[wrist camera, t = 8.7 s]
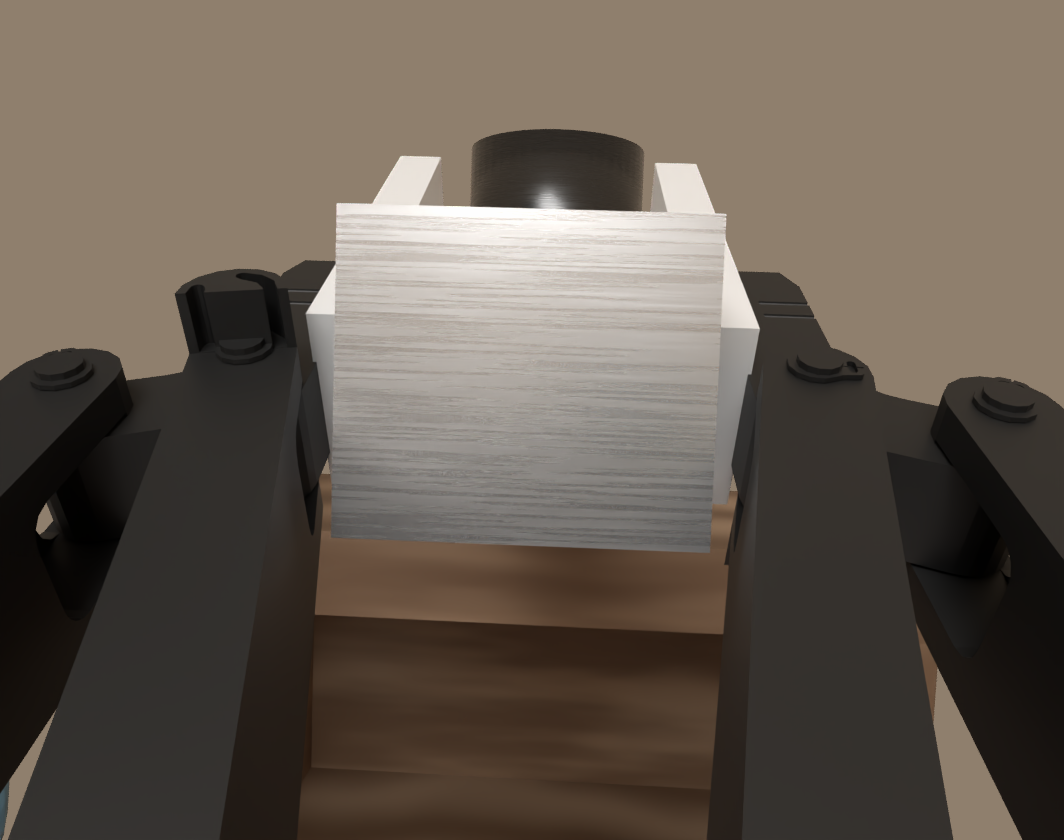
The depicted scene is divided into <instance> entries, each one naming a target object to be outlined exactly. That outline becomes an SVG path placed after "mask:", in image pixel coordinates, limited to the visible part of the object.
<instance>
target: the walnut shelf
mask: <svg viewBox="0 0 1064 840" xmlns="http://www.w3.org/2000/svg"><path fill="white" fill-rule="evenodd" d="M319 483H320V489H321V495H322V501H323V517H322V529H321V542H320V555H319V567H318V580H317V593H316V605H315V618H314V631H313V643H312V656H311V669H310V681H309V694H308V706H307V719H306V732H305V744H304V757H303V770H302V782H301V795H300V808H299V820H298V833H297V840H707V828H708V815H709V803H710V791H711V779H712V766H713V754H714V742H715V729H716V717H717V705H718V692H719V680H720V668H721V655H722V643H723V631H724V618H725V606H726V594H727V581H728V569H729V565H724V563H725V557H726V552H727V547H728V542H729V537H730V532H731V526H732V521H733V516H734V511H735V506H736V501H737V496H738V491H730V492H729V497H728V502H727V504H712V521H711V541H710V553H698V552H673V551H648V550H623V549H598V548H573V547H548V546H523V545H498V544H473V543H448V542H423V541H398V540H373V539H349V538H331V508H332V482H331V475H330V474H321V475H320V477H319ZM916 626H917V624H916ZM917 632H918V638H919V644H920V650H921V655H922V661H923V667H924V673H925V679H926V684H927V690H928V696H929V702H930V708H931V713H932V719H933V721H934V706H935V692H936V679H937V665H936V663H935V661H934V659H933V657H932V655H931V653H930V651H929V649H928V647H927V645H926V643H925V641H924V639H923V636H922V634H921V632H920V630H919V628H918V626H917Z"/></svg>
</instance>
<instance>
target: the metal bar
mask: <svg viewBox="0 0 1064 840" xmlns="http://www.w3.org/2000/svg"><path fill="white" fill-rule="evenodd" d="M643 166H644V151H643V149H642V148H641V147H640V146H638V145H637V144H635V143H633V142H631V141H628V140H626V139H623V138H619V137H615V136H611V135H607V134H601V133H595V132H587V131H578V130H577V131H576V130H561V129H540V130H522V131H513V132H506V133H501V134H496V135H492V136H489V137H486V138H483V139H481V140H479V141H478V142H476V143H475V144H474V145H473V148H472V167H471V205H470V207H459V206H457V207H456V206H424V205H388V204H352V203H351V204H350V203H337V218H336V275H335V333H334V391H333V450H332V508H331V538H349V539H373V540H398V541H423V542H448V543H473V544H498V545H523V546H548V547H573V548H598V549H623V550H648V551H673V552H698V553H710V541H711V521H712V500H713V480H714V459H715V438H716V418H717V397H718V377H719V356H720V336H721V315H722V295H723V274H724V253H725V232H726V214H710V213H674V212H642V192H643V191H642V190H643Z"/></svg>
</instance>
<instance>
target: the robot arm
mask: <svg viewBox="0 0 1064 840" xmlns="http://www.w3.org/2000/svg"><path fill="white" fill-rule="evenodd" d="M372 204H388V205H424V206H443V188H442V166H441V157H417V156H416V157H415V156H401V157H400V158H399V160H398V162H397V163H396V165H395V167H394V169H393V170H392V172H391V173H390V175H389V177H388V178H387V180H386V182H385V183H384V185H383V186H382V188H381V190H380V192H379V193H378V195H377V197H376V198H375V200H374V201H373V203H372ZM650 212H674V213H710V214H715V212H714V209H713V207H712V204H711V201H710V199H709V196H708V194H707V191H706V188H705V186H704V183H703V181H702V178H701V176H700V173H699V170H698V168H697V165H696V164H676V163H674V164H673V163H655V169H654V179H653V191H652V201H651V211H650ZM335 275H336V261H307V260H305V261H303V262H302V263H300V264H298V265H297V266H295V267H293V268H291V269H290V270H288V271H286V272H284V273H283V274H282V276H281V277H280V276H278V275H277V274H275V273H272V272H267V271H263V270H258V269H234V270H226V271H218V272H214V273H211V274H207V275H204V276H201V277H197V278H195V279H193V280H191V281H190V282H188V283H186V284H184V285H182V286H181V288H180V289H179V290H178V291H177V292H176V293H175V297H176V301H177V305H178V309H179V313H180V317H181V321H182V325H183V329H184V333H185V337H186V341H187V346H188V349H189V357H188V359H187V362H186V365H185V367H184V370H183V372H181V373H176V374H170V375H165V376H157V377H150V378H142V379H135V380H127V381H126V378H125V375H124V372H123V368H122V365H121V362H120V359H119V358H118V357H117V356H115V355H113V354H112V353H110V352H108V351H102V350H97V349H75V348H68V349H61V351H60V352H58V350H56V351H52V352H48V353H45V354H44V355H43V356H41V357H38V358H36V359H33V360H30V361H28V362H26V363H24V364H23V365H21V366H19V367H18V368H16V369H15V370H13V371H11V372H10V373H9V374H8V375H7V376H5V377H4V378H3V379H2V380H0V840H2V838H3V835H4V828H5V823H6V817H7V810H8V797H9V796H8V795H9V780H10V778H11V777H12V775H13V774H14V772H15V771H16V769H17V768H18V766H19V765H20V763H21V762H22V760H23V759H24V757H25V756H26V754H27V753H28V751H29V750H30V748H31V747H32V745H33V744H34V742H35V740H36V739H37V738H38V736H39V734H40V733H41V731H42V730H43V728H44V727H45V725H46V724H47V722H48V721H49V719H50V718H51V716H52V715H53V713H54V712H55V710H56V709H57V710H56V712H55V715H54V718H53V720H52V723H51V726H50V728H49V731H48V734H47V737H46V739H45V742H44V744H43V747H42V750H41V752H40V755H39V758H38V760H37V763H36V766H35V768H34V771H33V774H32V777H31V779H30V782H29V784H28V787H27V790H26V793H25V795H24V798H23V801H22V804H21V806H20V809H19V811H18V814H17V817H16V819H15V822H14V825H13V827H12V830H11V833H10V835H9V838H8V840H297V833H298V820H299V808H300V795H301V782H302V770H303V757H304V744H305V732H306V719H307V706H308V694H309V681H310V669H311V656H312V643H313V631H314V618H315V605H316V593H317V580H318V567H319V555H320V542H321V529H322V517H323V501H322V495H321V489H320V483H319V477H320V475H321V473H322V470H323V468H324V466H325V463H326V461H327V458H328V462H329V469H330V475H331V482H332V450H333V391H334V333H335ZM733 475H734V478H735V482H736V486H737V490H738V496H737V501H736V506H735V511H734V516H733V521H732V526H731V532H730V537H729V542H728V547H727V552H726V557H725V563H724V565H729V569H728V581H727V594H726V606H725V618H724V631H723V643H722V655H721V668H720V680H719V692H718V705H717V717H716V729H715V742H714V754H713V766H712V779H711V791H710V803H709V815H708V828H707V840H953V836H952V830H951V824H950V818H949V812H948V807H947V801H946V795H945V789H944V783H943V778H942V772H941V766H940V760H939V754H938V749H937V742H936V737H935V731H934V725H933V719H932V713H931V708H930V702H929V696H928V690H927V684H926V679H925V673H924V667H923V661H922V655H921V650H920V644H919V638H918V632H917V626H918V628H919V630H920V632H921V634H922V636H923V639H924V641H925V643H926V645H927V647H928V649H929V651H930V653H931V655H932V657H933V659H934V661H935V663H936V665H937V667H938V669H939V671H940V673H941V675H942V677H943V679H944V681H945V683H946V685H947V687H948V689H949V691H950V693H951V695H952V697H953V699H954V702H955V703H956V705H957V707H958V710H959V712H960V714H961V716H962V717H963V720H964V722H965V724H966V726H967V728H968V730H969V732H970V734H971V736H972V738H973V740H974V742H975V744H976V746H977V748H978V750H979V752H980V754H981V756H982V758H983V760H984V762H985V764H986V766H987V768H988V771H989V773H990V775H991V777H992V779H993V780H994V783H995V785H996V787H997V789H998V791H999V793H1000V795H1001V797H1002V799H1003V801H1004V803H1005V805H1006V807H1007V809H1008V811H1009V813H1010V815H1011V817H1012V819H1013V821H1014V823H1015V825H1016V827H1017V829H1018V831H1019V834H1020V836H1021V838H1022V840H1064V409H1063V408H1062V407H1061V406H1060V405H1059V404H1057V403H1056V402H1055V401H1053V400H1052V399H1051V398H1049V397H1048V396H1046V395H1045V394H1043V393H1041V392H1038V391H1036V390H1034V389H1032V388H1030V387H1029V386H1028V385H1026V384H1024V383H1021V382H1017V381H1014V382H1011V379H1006V378H1001V377H996V378H989V377H980V376H979V377H968V378H960V379H958V380H956V381H954V382H951V383H949V384H948V386H947V387H946V389H945V391H944V393H943V395H942V398H941V401H940V404H939V406H934V405H930V404H925V403H920V402H915V401H910V400H905V399H901V398H897V397H893V396H889V395H885V394H882V393H880V392H877V391H876V388H875V383H874V377H873V375H872V373H871V371H870V370H869V368H868V366H866V365H865V364H864V363H862V362H861V361H860V360H858V359H857V358H856V357H854V356H852V355H849V354H847V353H844V352H842V351H839V350H837V349H833V348H831V347H830V345H829V343H828V341H827V339H826V337H825V336H824V334H823V332H822V330H821V328H820V326H819V324H818V322H817V320H816V319H814V314H813V312H812V310H811V308H810V307H809V306H807V301H806V299H805V297H804V295H803V293H802V291H801V290H800V287H799V286H797V285H796V284H794V283H793V282H792V281H790V280H789V279H787V278H786V277H784V276H783V275H782V274H780V273H770V272H738V271H737V268H736V266H735V263H734V261H733V258H732V256H731V253H730V250H729V248H728V245H727V243H726V240H725V253H724V274H723V295H722V315H721V336H720V356H719V377H718V397H717V418H716V438H715V459H714V480H713V500H712V504H727V502H728V497H729V492H730V486H731V481H732V476H733ZM46 503H47V505H48V508H49V510H50V513H51V515H52V518H53V520H54V521H53V522H52V523H51V524H50V525H49V526H48V528H47V529H46V530H45V531H44V532H43V533H41V534H40V535H39V534H38V533H37V531H36V526H37V520H38V516H39V514H40V512H41V510H42V509H43V507H44V505H45V504H46ZM916 624H917V626H916Z"/></svg>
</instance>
